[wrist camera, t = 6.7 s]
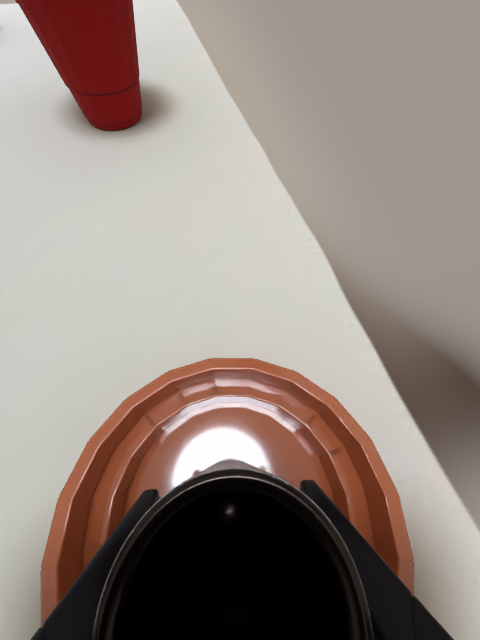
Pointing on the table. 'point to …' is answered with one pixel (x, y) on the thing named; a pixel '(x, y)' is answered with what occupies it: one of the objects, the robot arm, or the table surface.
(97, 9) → the plastic cup
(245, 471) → the grey hollow cylinder
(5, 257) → the table surface
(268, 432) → the bowl
